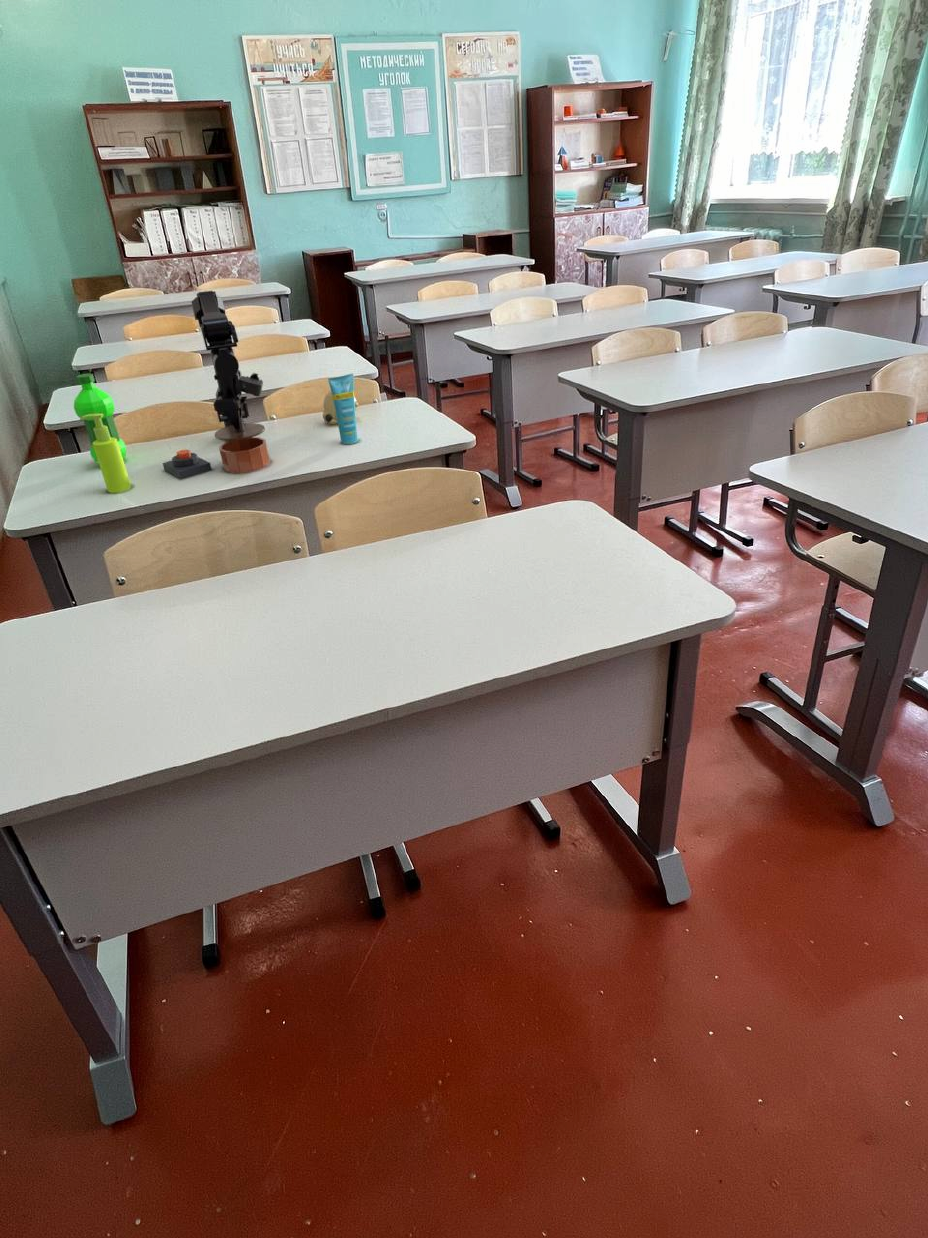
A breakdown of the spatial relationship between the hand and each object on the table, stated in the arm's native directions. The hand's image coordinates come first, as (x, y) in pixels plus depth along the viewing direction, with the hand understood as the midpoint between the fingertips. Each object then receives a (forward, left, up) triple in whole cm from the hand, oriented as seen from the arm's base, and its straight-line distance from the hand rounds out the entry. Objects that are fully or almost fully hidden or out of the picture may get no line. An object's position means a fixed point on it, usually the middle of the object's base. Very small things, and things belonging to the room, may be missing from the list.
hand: (238, 427), depth 205 cm
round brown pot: (0, 0, -11) cm, 11 cm away
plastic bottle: (-35, -25, -11) cm, 44 cm away
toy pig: (-12, +40, -11) cm, 43 cm away
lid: (0, 0, -1) cm, 1 cm away
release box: (-10, -13, -11) cm, 20 cm away
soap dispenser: (-12, -32, -11) cm, 36 cm away
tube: (+7, +30, -11) cm, 33 cm away
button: (-10, -13, -7) cm, 18 cm away
